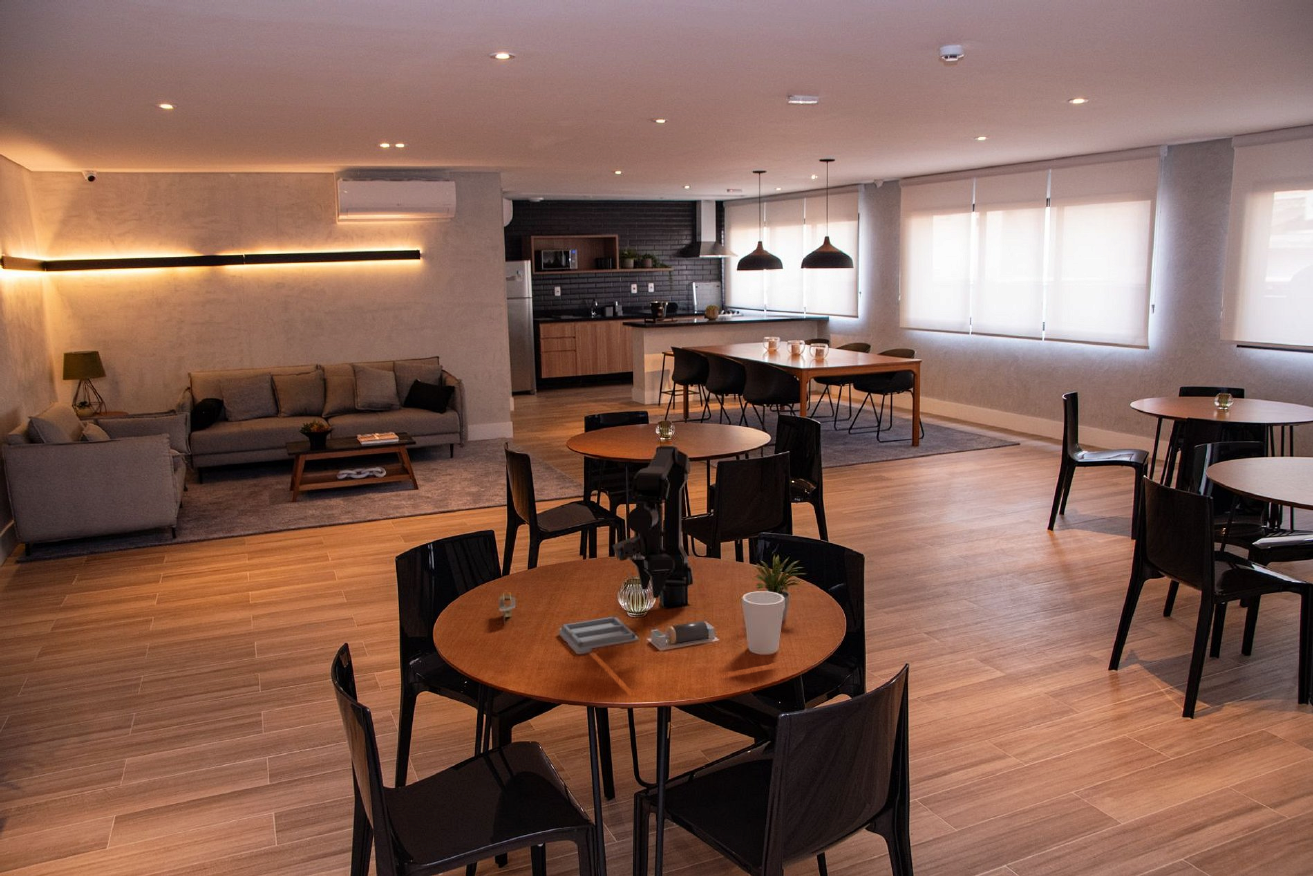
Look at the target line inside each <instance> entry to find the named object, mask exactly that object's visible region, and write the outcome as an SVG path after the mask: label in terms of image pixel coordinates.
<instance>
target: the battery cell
mask: <svg viewBox="0 0 1313 876" xmlns="http://www.w3.org/2000/svg"><path fill="white" fill-rule="evenodd" d="M663 634H664V635H665V636H666V640H667V642H668V643H669V644H675V643H681V642H687V641H692V640H698V639H704V638H707V636H708V629H707V625H706V623H705V621H704V620H701V621H695V622H693V621H692V622H687V623H683V624H675V625H670V626H669V625H668V626H666V627H665V632H663Z"/></svg>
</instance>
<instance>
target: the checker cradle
mask: <svg viewBox="0 0 1313 876" xmlns="http://www.w3.org/2000/svg"><path fill="white" fill-rule="evenodd" d="M704 622H705V623H706V625H707V629H708V636H707V638H704V639H698V640H692V641H687V642H681V643H675V644H669V643H668V642H667V640H666V636H665V635H664V632H663V633H662V631H660V630H659V629H658V628H656V629H652V630H650V638H646V640H647V641H648V642H650V644H652V645H653V646H654V647H655V648H657V649H658V650H659V652H660V651H666V650H673V649H678V648H684V647H689V646H695V645H701V644H706V643H712V642H717V641H718V642H719V641H720V639H719V638H717V637H716V628H715V627H714V626H712V625H711V624H710V623H708V622H707V621H704Z"/></svg>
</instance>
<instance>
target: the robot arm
mask: <svg viewBox="0 0 1313 876" xmlns="http://www.w3.org/2000/svg"><path fill="white" fill-rule="evenodd" d="M690 472H691V461H690V459H689V456H688V454H686V453H684V452H682V451H681V450H679V449H678V446H674V445H659V446H656V449H655V454H654V455H653V457H652V459H651V460H650V463H649V464H648V466H647V467H644V468H640V469H639V470H638V471H637V473H635V476H633V479H632V484H631V490H630V496H629V504H635V508H633V509H632V510H631V511H629V513H628V514H627V518H626V520H627V525H628V528H630V530H631V531H632V532H634V535H633V536H632V537H629V538H626V539H624V540H621V541H619V542H617V543H614V544H613V545H612V548H613V551H614V553H615V556H616V559H617V560H619V561H620V562H624V561H626V560H628V559H629V560H630V562H632V563H633V564H634V566H636V569H637V573H638V577H639V582H640V587H641V590H647V589H648V587H649V585H650V586H651V591H652V592H651V593H652V597H653V599H658V598H659V602H658V604H659V605H660V606H661V607H662V608H663V609H666V610H672V609H678V608H684V607H691V604H689V586H692V585H693V584H694V576H693V571H692V568H691V564H690V563H689V561H688V559H689V557H688V554H687V552H686V550H685V549H684V547H683V546H682V510H683V509H682V503H683V502H682V495H683V493H682V490H683V488H684V486H685V485H686V483H687V481H688V480H689V474H690ZM663 504H664V505H663ZM650 583H651V584H650Z"/></svg>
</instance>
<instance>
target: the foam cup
mask: <svg viewBox="0 0 1313 876" xmlns="http://www.w3.org/2000/svg"><path fill="white" fill-rule="evenodd" d="M741 608H742V610H743V619H744V625H745V633H746V640H747V646H748V647H747V648H748V650H749V651H750V652H751V653H753V654H757V655H772V654H775V653H777V652H778V650H779V646H780V645H779V644H780V638H781V637H780V636H781V632H782V631H781V630H782V623H783V621H782V617H783V610H784V608H785V598H784V597H783V595H781V594H778V593H775V592H769V591H767V590H763V591H762V590H758V591H752V592H751V591H750V592H748V593H745V594H743V596H742V597H741Z"/></svg>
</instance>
